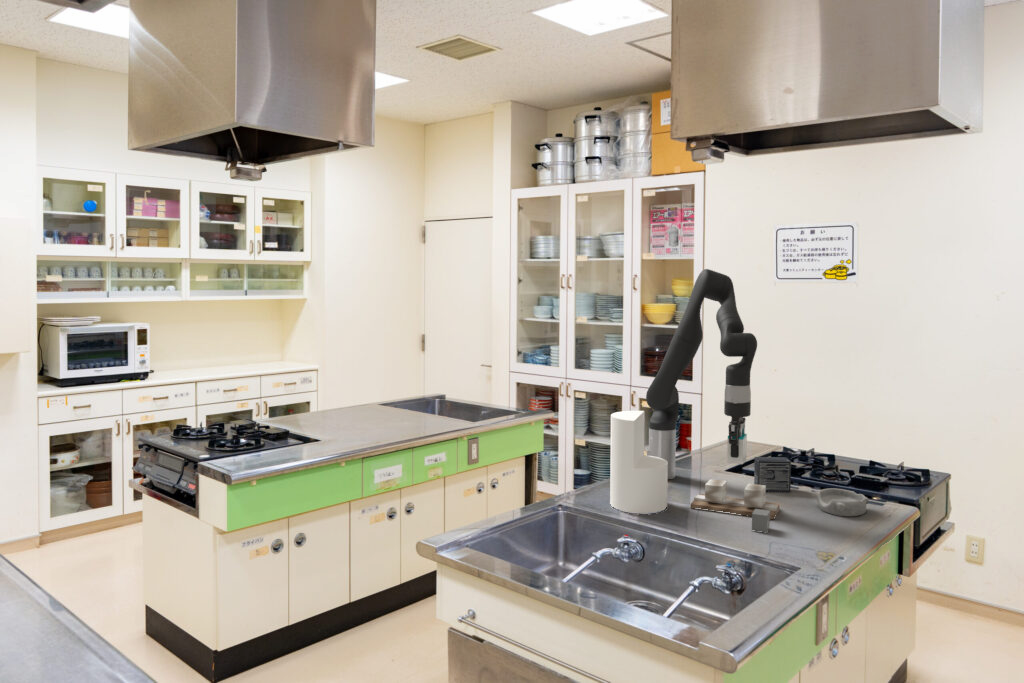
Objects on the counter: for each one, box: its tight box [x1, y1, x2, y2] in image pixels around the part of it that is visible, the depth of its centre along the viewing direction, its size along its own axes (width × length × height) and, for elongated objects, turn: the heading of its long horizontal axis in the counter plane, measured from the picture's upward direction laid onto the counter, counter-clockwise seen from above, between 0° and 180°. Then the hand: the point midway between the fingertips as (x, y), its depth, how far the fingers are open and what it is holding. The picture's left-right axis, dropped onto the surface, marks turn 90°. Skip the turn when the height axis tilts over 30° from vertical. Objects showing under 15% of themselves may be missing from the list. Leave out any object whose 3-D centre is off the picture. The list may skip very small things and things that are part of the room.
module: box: [726, 433, 748, 465], centre depth 226 cm, size 4×6×8 cm
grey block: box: [751, 509, 771, 533], centre depth 209 cm, size 4×5×5 cm
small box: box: [753, 456, 792, 494], centre depth 247 cm, size 11×6×10 cm, turn 84°
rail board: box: [690, 478, 781, 520], centre depth 227 cm, size 24×12×7 cm, turn 63°
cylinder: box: [609, 410, 668, 513], centre depth 230 cm, size 17×17×28 cm
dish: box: [817, 487, 869, 517], centre depth 226 cm, size 14×14×5 cm
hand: (736, 454), depth 226 cm, fingers closed on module, 6 cm apart
